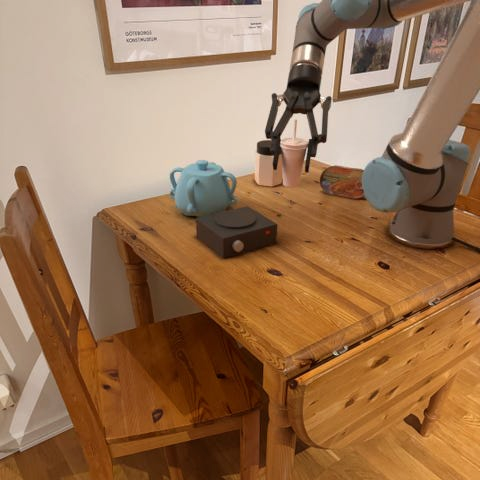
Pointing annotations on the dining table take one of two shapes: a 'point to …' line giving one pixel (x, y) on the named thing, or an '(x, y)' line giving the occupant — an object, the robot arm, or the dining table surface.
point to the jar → (267, 165)
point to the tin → (342, 181)
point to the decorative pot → (202, 189)
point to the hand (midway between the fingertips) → (290, 168)
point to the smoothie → (292, 158)
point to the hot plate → (236, 231)
